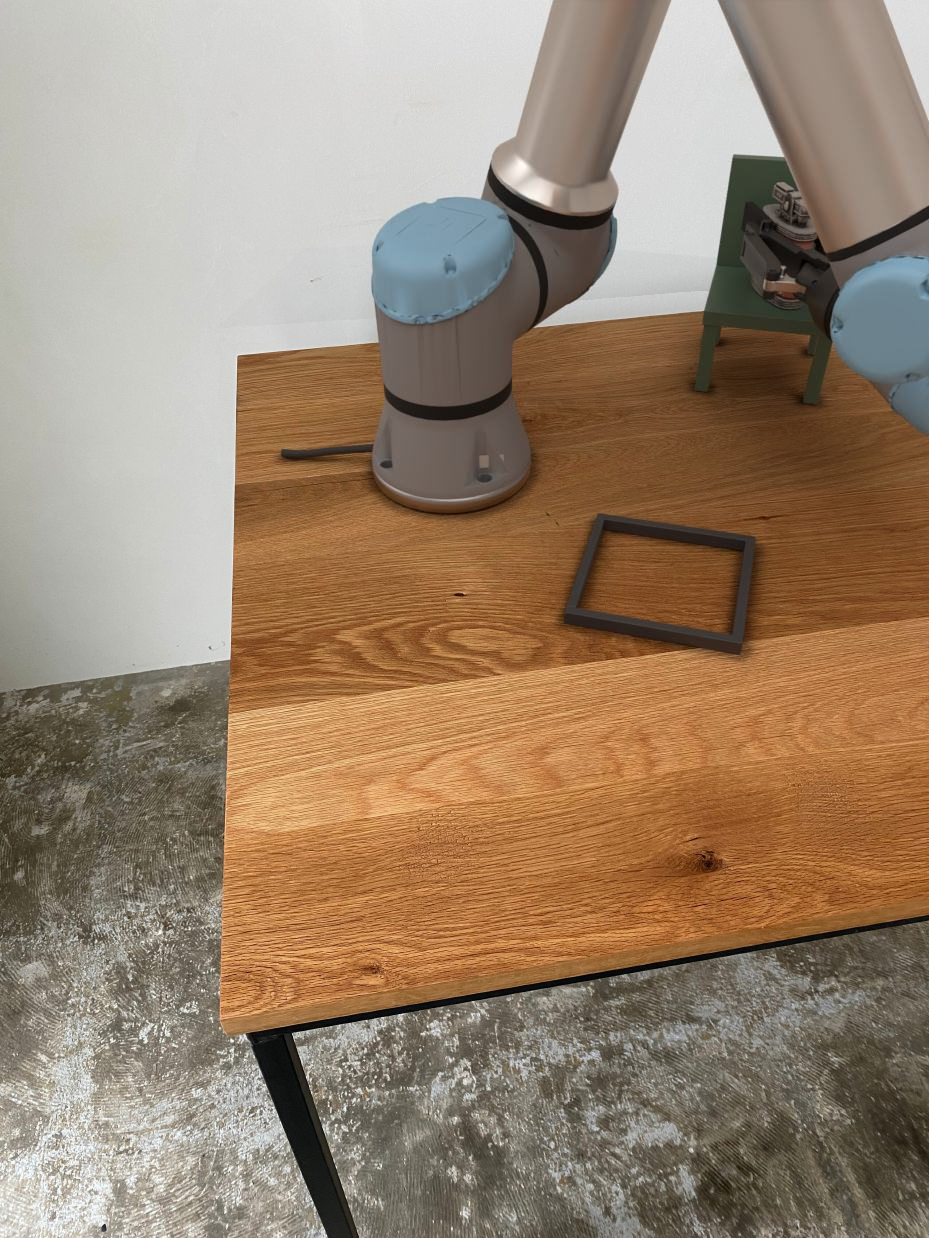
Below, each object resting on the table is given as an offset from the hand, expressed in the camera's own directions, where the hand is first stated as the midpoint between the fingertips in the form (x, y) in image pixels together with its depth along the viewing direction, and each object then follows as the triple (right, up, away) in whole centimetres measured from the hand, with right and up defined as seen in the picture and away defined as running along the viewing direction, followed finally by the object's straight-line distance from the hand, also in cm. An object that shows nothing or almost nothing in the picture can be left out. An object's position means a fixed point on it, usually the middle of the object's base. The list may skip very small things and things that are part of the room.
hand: (766, 214), depth 96 cm
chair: (+1, -14, +7) cm, 16 cm away
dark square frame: (-15, -39, -19) cm, 46 cm away
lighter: (+1, -8, 0) cm, 8 cm away
